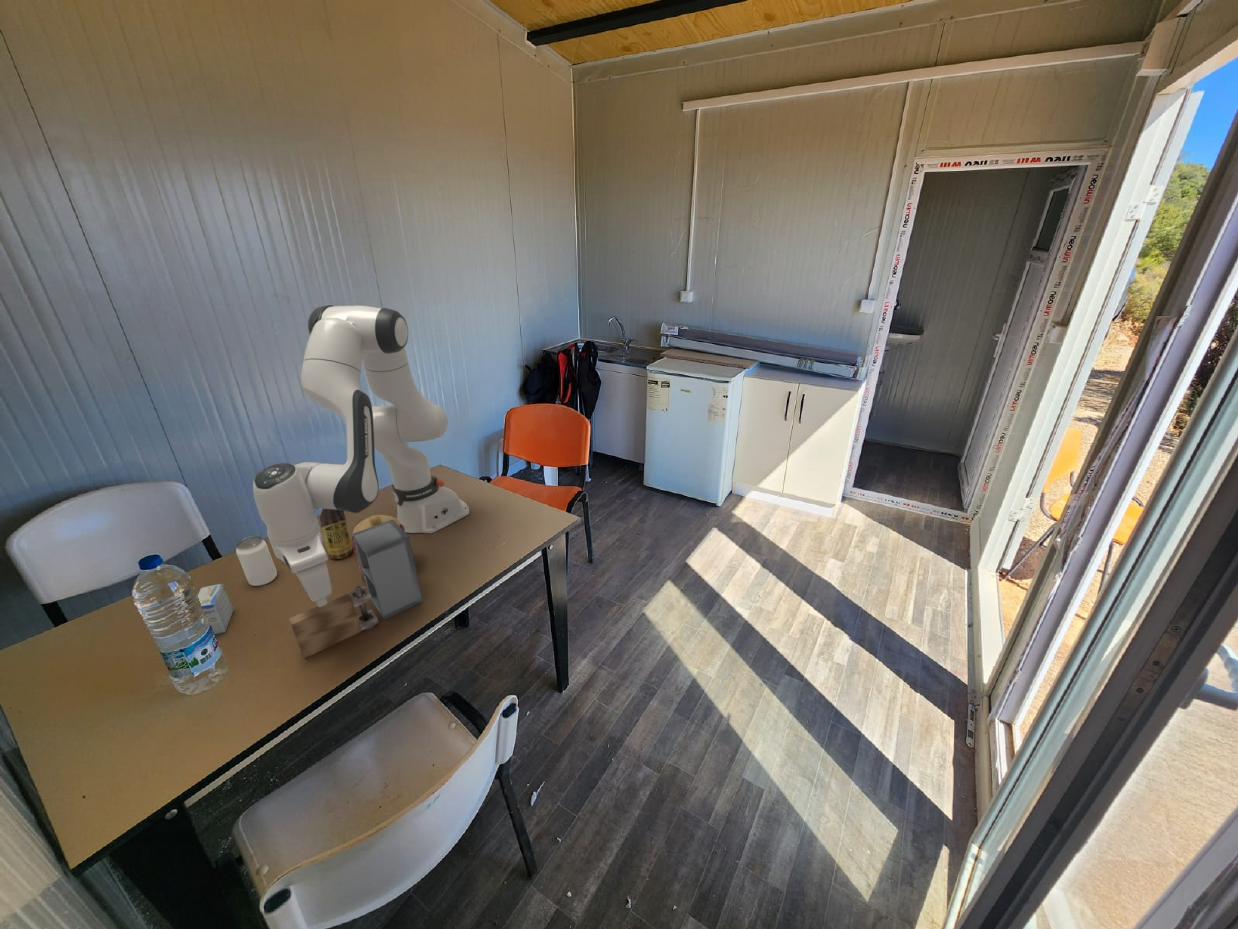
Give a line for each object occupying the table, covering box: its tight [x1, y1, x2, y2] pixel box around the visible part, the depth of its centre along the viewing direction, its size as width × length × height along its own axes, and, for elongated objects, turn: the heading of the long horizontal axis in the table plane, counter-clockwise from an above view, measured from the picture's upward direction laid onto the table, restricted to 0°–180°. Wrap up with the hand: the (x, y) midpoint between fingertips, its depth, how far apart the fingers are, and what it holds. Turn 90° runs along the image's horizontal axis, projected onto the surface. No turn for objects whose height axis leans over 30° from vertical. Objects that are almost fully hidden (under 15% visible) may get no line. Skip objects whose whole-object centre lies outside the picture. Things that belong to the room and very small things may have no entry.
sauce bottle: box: [319, 509, 353, 560], centre depth 138 cm, size 6×6×20 cm
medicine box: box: [197, 583, 235, 635], centre depth 116 cm, size 8×4×9 cm, turn 23°
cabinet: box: [352, 519, 423, 621], centre depth 121 cm, size 10×10×20 cm
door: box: [288, 586, 379, 659], centre depth 112 cm, size 16×4×10 cm, turn 133°
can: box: [235, 535, 278, 587], centre depth 129 cm, size 6×6×12 cm
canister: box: [351, 514, 406, 581], centre depth 132 cm, size 13×13×18 cm
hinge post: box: [354, 585, 377, 631], centre depth 115 cm, size 4×4×12 cm
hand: (316, 592), depth 107 cm, fingers open, 8 cm apart
